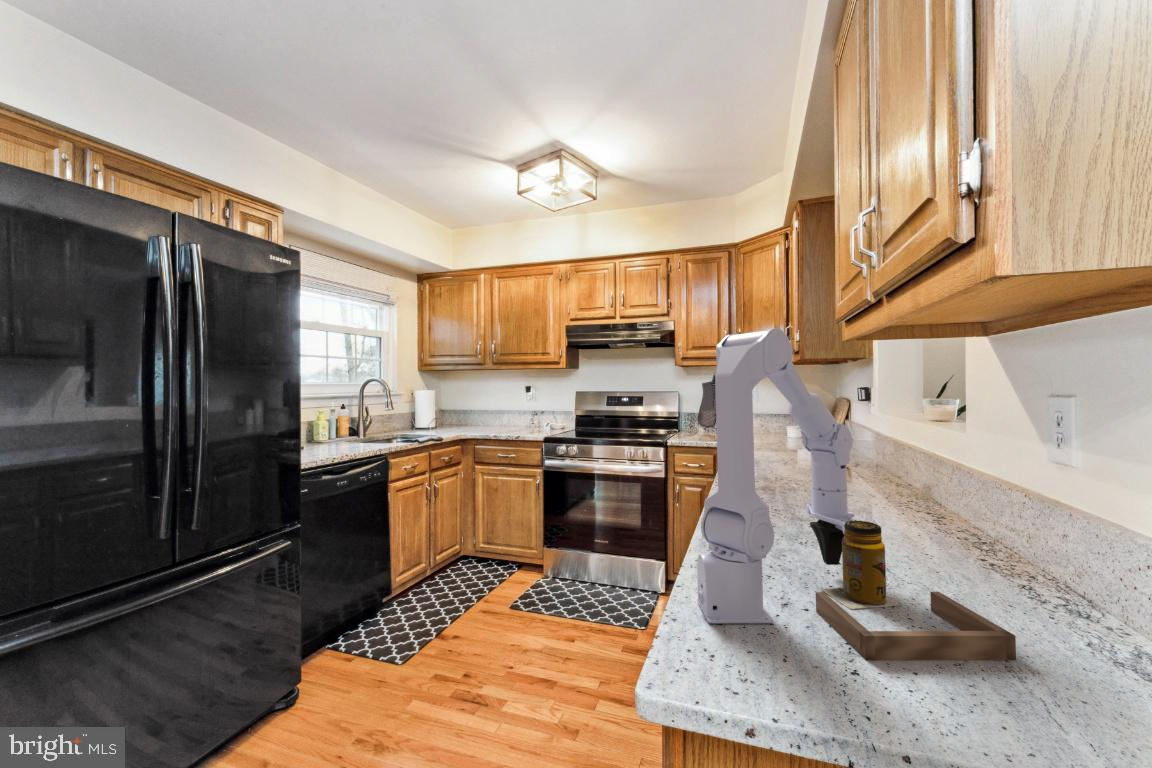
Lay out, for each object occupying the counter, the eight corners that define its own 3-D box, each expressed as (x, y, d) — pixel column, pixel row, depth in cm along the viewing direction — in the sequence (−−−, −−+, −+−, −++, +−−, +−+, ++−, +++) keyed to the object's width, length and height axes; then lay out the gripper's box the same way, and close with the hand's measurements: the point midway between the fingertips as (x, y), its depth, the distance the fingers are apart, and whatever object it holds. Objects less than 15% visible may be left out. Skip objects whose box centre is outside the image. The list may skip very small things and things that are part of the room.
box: (865, 660, 60) (864, 635, 60) (816, 611, 73) (815, 592, 73) (1016, 659, 59) (1015, 635, 59) (939, 611, 72) (938, 591, 73)
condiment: (900, 605, 75) (897, 528, 75) (851, 610, 74) (848, 532, 74) (866, 587, 82) (863, 517, 82) (820, 591, 81) (818, 519, 81)
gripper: (875, 496, 80) (877, 578, 79) (831, 480, 94) (833, 550, 94) (832, 497, 80) (834, 579, 79) (795, 481, 94) (797, 550, 94)
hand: (831, 563), depth 87 cm, fingers closed
